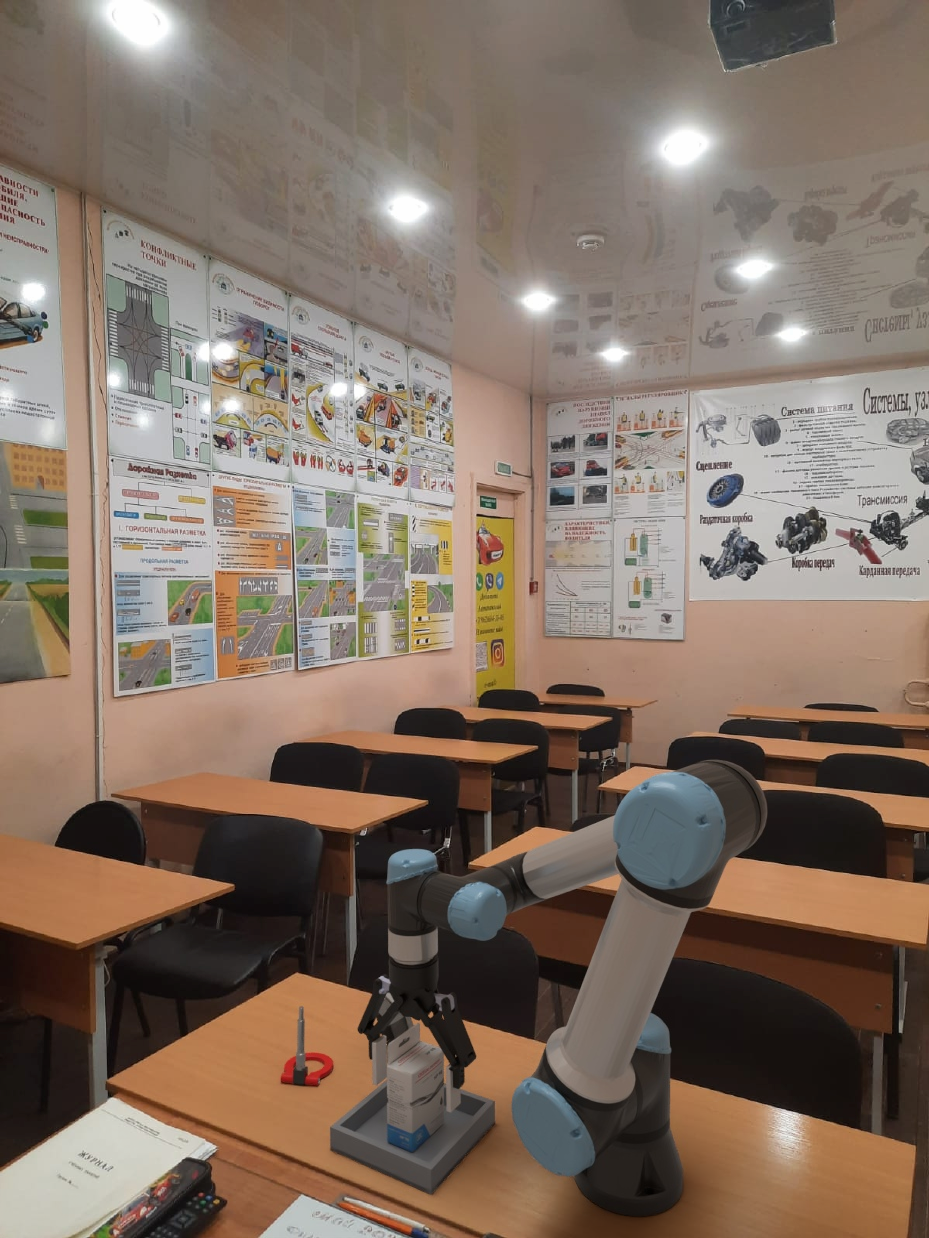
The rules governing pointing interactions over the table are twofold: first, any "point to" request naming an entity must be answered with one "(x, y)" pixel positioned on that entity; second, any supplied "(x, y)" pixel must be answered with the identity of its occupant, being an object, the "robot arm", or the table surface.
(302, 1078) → the tow hook
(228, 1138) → the table surface
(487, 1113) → the tray
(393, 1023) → the electrical switch
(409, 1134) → the ink box
